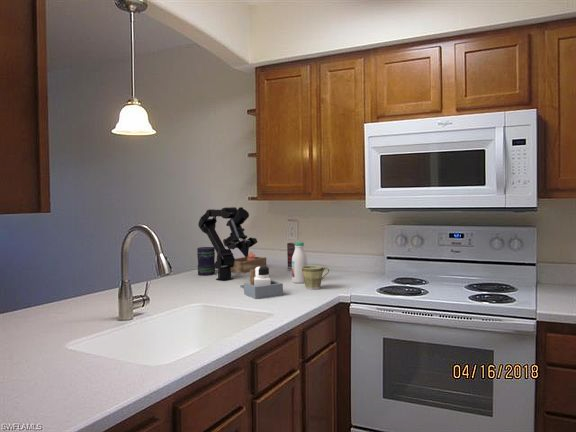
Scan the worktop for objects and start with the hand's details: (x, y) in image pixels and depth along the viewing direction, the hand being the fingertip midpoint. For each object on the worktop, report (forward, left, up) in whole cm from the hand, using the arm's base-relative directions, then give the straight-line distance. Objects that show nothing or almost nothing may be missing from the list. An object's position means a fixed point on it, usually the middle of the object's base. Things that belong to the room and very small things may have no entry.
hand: (246, 256), depth 223 cm
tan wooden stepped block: (+13, -10, -14) cm, 21 cm away
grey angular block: (+20, -13, -14) cm, 27 cm away
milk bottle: (+18, +20, -14) cm, 30 cm away
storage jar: (-40, +13, -14) cm, 44 cm away
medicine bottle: (+19, -12, -14) cm, 26 cm away
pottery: (-32, +37, -14) cm, 51 cm away
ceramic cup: (+33, +11, -14) cm, 37 cm away
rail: (+4, -6, -14) cm, 16 cm away
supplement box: (-4, +49, -14) cm, 51 cm away
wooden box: (-32, +38, -14) cm, 51 cm away
